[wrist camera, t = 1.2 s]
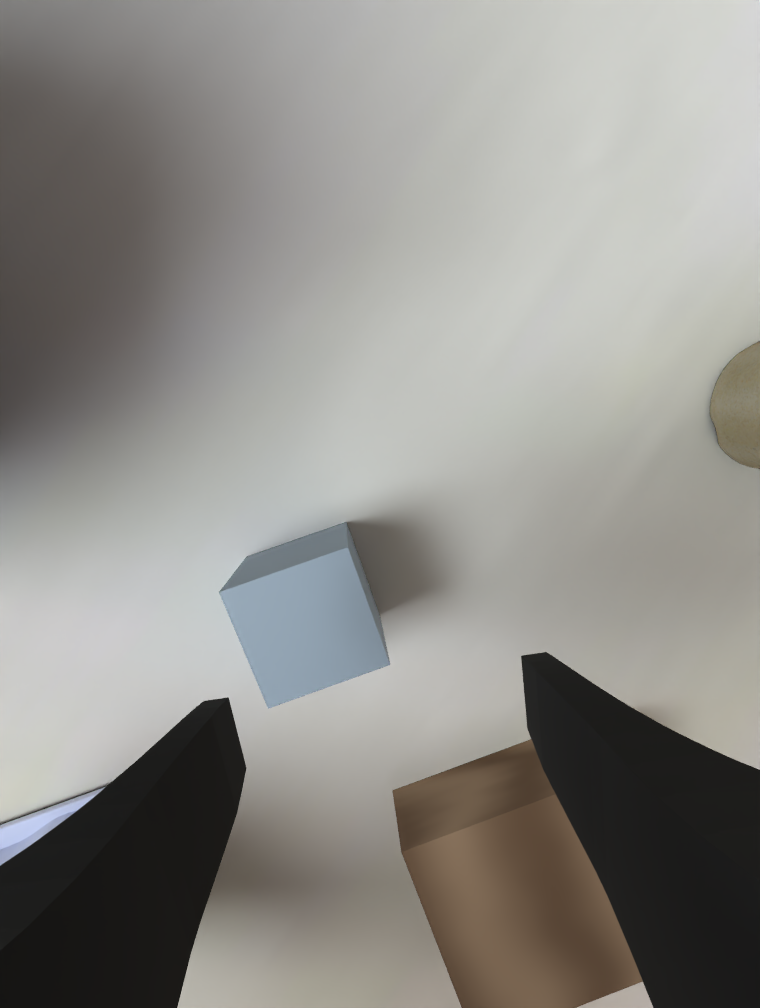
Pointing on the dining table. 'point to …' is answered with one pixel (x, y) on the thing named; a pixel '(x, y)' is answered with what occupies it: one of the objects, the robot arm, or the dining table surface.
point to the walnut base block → (510, 887)
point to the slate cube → (305, 615)
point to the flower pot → (739, 407)
